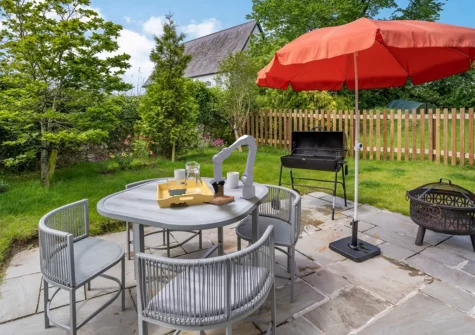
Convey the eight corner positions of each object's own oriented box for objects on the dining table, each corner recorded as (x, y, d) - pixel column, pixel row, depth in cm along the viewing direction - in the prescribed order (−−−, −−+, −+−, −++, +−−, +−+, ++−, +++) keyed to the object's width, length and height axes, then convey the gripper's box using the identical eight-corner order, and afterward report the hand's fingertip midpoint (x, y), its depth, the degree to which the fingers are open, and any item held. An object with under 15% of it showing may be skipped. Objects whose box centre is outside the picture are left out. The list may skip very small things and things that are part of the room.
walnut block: (218, 194, 208) (218, 184, 207) (223, 195, 205) (223, 185, 204) (214, 195, 205) (214, 185, 204) (219, 196, 202) (219, 186, 201)
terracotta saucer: (218, 196, 216) (218, 193, 216) (234, 200, 207) (234, 196, 207) (203, 201, 205) (203, 198, 204) (219, 205, 196) (219, 201, 195)
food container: (168, 205, 198) (167, 190, 197) (169, 202, 204) (168, 188, 203) (187, 204, 201) (186, 189, 199) (187, 201, 207) (186, 187, 205)
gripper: (214, 175, 195) (215, 195, 197) (229, 171, 205) (230, 190, 208) (207, 173, 199) (207, 193, 201) (222, 170, 210) (222, 189, 212)
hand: (218, 192), depth 205 cm, fingers closed on walnut block, 4 cm apart
